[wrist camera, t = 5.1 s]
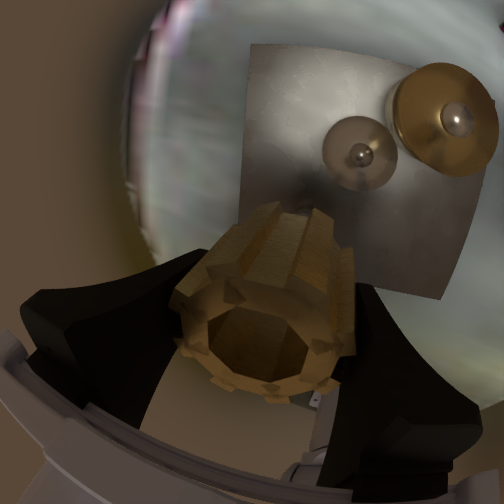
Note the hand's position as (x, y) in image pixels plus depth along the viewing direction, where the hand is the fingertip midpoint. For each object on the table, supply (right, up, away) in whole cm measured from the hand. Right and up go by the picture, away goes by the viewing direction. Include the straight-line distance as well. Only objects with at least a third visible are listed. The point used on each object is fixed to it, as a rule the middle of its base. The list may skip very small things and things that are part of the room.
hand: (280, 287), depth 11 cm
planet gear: (0, +1, +1) cm, 1 cm away
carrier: (+6, +6, +5) cm, 10 cm away
